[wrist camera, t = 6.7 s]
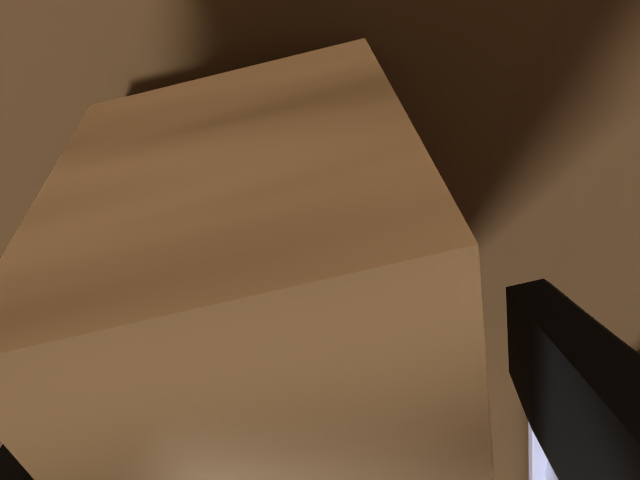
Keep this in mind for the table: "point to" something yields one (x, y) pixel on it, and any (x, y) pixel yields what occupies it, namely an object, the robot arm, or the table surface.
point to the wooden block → (247, 290)
